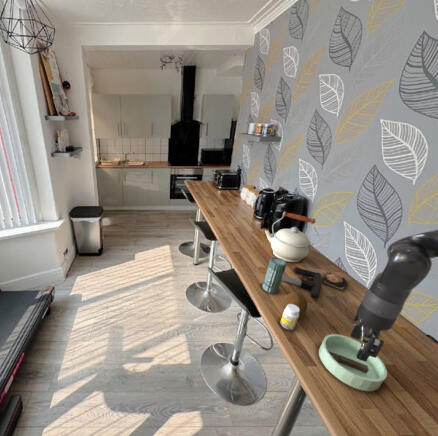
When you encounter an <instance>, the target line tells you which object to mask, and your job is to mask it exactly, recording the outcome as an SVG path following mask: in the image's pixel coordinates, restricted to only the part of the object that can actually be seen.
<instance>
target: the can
mask: <svg viewBox="0 0 438 436" xmlns="http://www.w3.org/2000/svg"><path fill="white" fill-rule="evenodd" d="M287 265H288V263H287V261H285V260H283V259H281V258H278V257H276V256H273V257H270V259H269V262H268V265H267V268H266V272H265V276H264V279H263V282H262V285H261V286H262V289H263V290H264V292H267V293H269V294H272V295H273V294H274V295H275V294H277V293H278V291H279V289H280V285H281V282H282V281H283V280H282V277H283V276H284V273H285V270H286V267H287Z"/></svg>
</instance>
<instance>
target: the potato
mask: <svg viewBox="0 0 438 436" xmlns="http://www.w3.org/2000/svg"><path fill="white" fill-rule="evenodd" d="M288 304H294V305H296V306H297V307H298V308H299V309H300V311H299V318H298V319H300V318H303V317H304V316H305V314H306V312H307V309H308V301H307V299H306V298H305V296H304V295H303V294H301V293H299V292H295V291H293V292H290V293H288V294H287V295H286V297H285V298H284V299H283V305H284V309H285V308H286V307H287V305H288Z"/></svg>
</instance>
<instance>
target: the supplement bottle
mask: <svg viewBox="0 0 438 436" xmlns="http://www.w3.org/2000/svg"><path fill="white" fill-rule="evenodd" d="M299 311H300V309H299V308H298V307H297V306H296V305H294V304H288V305H287V307H286V308H285V307H284V310H283V313H282V316H281V318H280V321H279V322H280V325H281V326H282V327H283V328H284V329H286V330H294V329H295V328H296V325H297V323H298V320H299V319H300V318H299Z"/></svg>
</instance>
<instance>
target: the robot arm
mask: <svg viewBox="0 0 438 436" xmlns="http://www.w3.org/2000/svg"><path fill="white" fill-rule="evenodd" d="M386 255H387V263H386V265H385V267H384V268H383V271H381V272H379V273H378V274H377V275H376V276H375V278H374V279H373V281H372V283H371V285H370V287H369V289H368V290H367V291H366V292H365V294H364V296H363V298H362V300H361V302H360V304H359V305H358V308H357V310H356V312H355V315H354V317H353V319H352V320H353V322H354V323H353V328H352V330H351V332H350V334H349V335H350V338H352V339H355V340H359V342H360V343H362V344H361V348H360V350H359V351H358V353H357V355H356V357H357V359H359V360H362V361H367V359H368V358H369V356H371V357H374V358H376V357H377V356H379V353H380V351H381V350H382V348H383V346H384V343H385V342H384V340H383V339H380V338H379V337H380V336H381V332H382V331H388V330H391V328H392V327H393V326H394V324H395V323H396V321H397V319H398V318H399V316H400V315H401V313H402V311H403V309H404V306H405V304H406V302H407V300H408V299H409V297H410V295H411V293H412V291H413V290H414V289H415V288H416V287H417V286H419V285H420V284H421V283H422V282H423V281H424V280H425V279H426V277H427V276H428V275H429V274H430V272H431V270H432V267H433V260H432V259H434V258H438V229H434V230H430V231H424V232H421V233H417V234H412V235H407V236H405V237H402V238H400V239H399V238H398V239H397V240H395V241H393V242H392V243H391V244H390V245H389V246H388V247H387V248H386Z"/></svg>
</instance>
